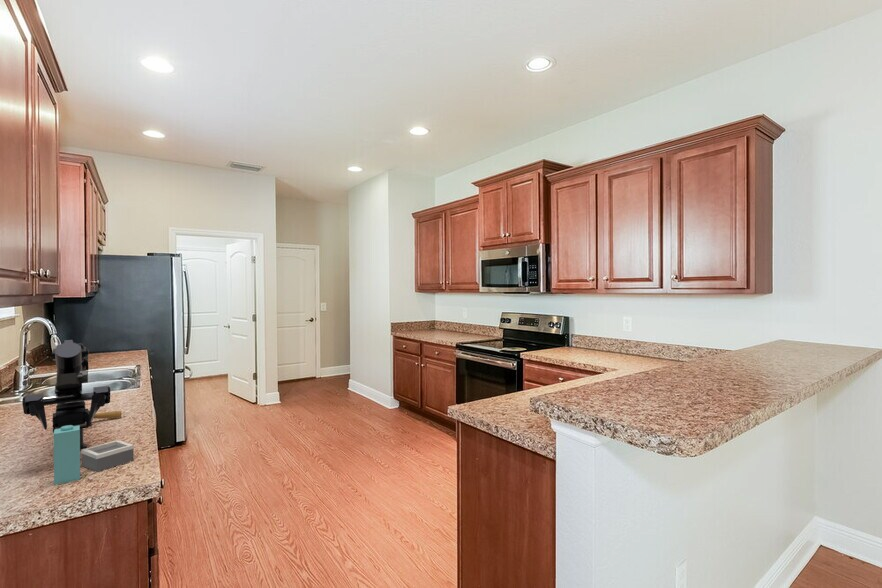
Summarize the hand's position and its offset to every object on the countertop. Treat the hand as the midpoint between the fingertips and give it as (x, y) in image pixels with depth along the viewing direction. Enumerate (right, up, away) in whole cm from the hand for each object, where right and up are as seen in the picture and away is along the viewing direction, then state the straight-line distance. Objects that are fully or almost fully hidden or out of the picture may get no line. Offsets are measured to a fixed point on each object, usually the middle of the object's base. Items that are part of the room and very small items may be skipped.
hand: (68, 425), depth 118 cm
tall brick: (+5, -12, -6) cm, 14 cm away
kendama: (-29, -13, +43) cm, 54 cm away
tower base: (+7, -12, +5) cm, 15 cm away
